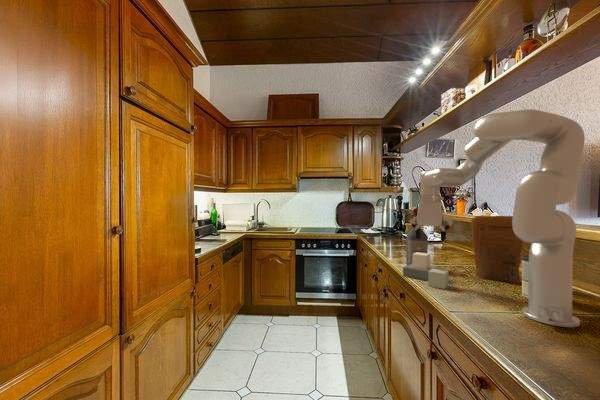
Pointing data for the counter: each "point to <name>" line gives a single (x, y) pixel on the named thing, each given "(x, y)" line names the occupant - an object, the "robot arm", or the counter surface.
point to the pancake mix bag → (496, 248)
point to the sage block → (438, 278)
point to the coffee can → (525, 276)
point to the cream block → (421, 260)
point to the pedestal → (417, 272)
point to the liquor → (415, 242)
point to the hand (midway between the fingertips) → (430, 239)
